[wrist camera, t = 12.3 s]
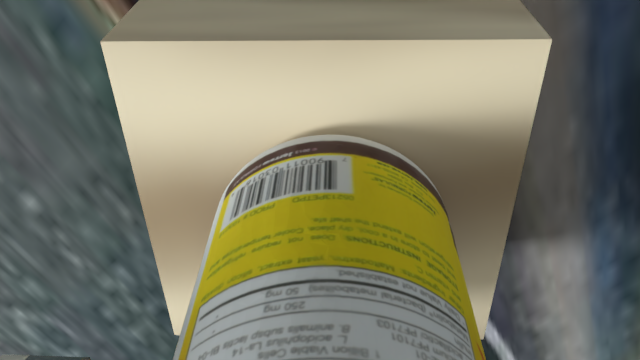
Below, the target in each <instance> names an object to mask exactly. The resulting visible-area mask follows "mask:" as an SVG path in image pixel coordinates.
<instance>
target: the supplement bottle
mask: <svg viewBox="0 0 640 360" xmlns="http://www.w3.org/2000/svg"><path fill="white" fill-rule="evenodd" d="M173 360H486V359H485V355H484V351H483V347H482V344H481V340H480V336H479V332H478V328H477V324H476V320H475V317H474V313H473V309H472V305H471V301H470V297H469V294H468V290H467V286H466V282H465V278H464V275H463V271H462V267H461V263H460V260H459V256H458V252H457V248H456V244H455V239H454V235H453V232H452V229H451V225H450V221H449V217H448V214H447V211H446V209H445V206H444V203H443V201H442V198H441V196H440V194H439V193H438V191H437V189H436V187H435V186H434V184H433V183H432V182H431V180H430V179H429V178H428V177H427V175H426V174H425V173H424V172H423V171H422V170H421V169H420V168H419V167H418V166H417V165H416V164H414V163H413V162H412V161H411V160H409V159H408V158H406V157H405V156H404V155H402V154H400V153H399V152H397V151H395V150H393V149H391V148H389V147H387V146H385V145H382V144H380V143H377V142H374V141H371V140H367V139H363V138H360V137H354V136H347V135H330V134H327V135H314V136H307V137H301V138H297V139H293V140H290V141H287V142H284V143H281V144H279V145H276V146H274V147H272V148H270V149H268V150H266V151H264V152H263V153H261V154H259V155H258V156H256V157H255V158H254V159H252V160H251V161H250V162H248V163H247V164H246V165H245V166H244V167H243V168H242V169H241V170H240V171H239V172H238V173H237V174H236V175H235V177H234V178H233V179H232V180H231V182H230V183H229V185H228V186H227V188H226V189H225V191H224V193H223V195H222V197H221V200H220V202H219V205H218V208H217V211H216V214H215V217H214V221H213V224H212V227H211V231H210V234H209V238H208V241H207V244H206V248H205V251H204V255H203V258H202V262H201V265H200V269H199V272H198V276H197V279H196V283H195V286H194V289H193V292H192V296H191V299H190V302H189V306H188V309H187V313H186V316H185V319H184V323H183V326H182V330H181V333H180V337H179V340H178V344H177V347H176V350H175V354H174V357H173Z"/></svg>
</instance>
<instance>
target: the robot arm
mask: <svg viewBox="0 0 640 360" xmlns="http://www.w3.org/2000/svg"><path fill="white" fill-rule="evenodd" d="M0 360H91V359H90V357H62V356H33V355H1V356H0Z"/></svg>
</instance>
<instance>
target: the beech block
mask: <svg viewBox="0 0 640 360" xmlns="http://www.w3.org/2000/svg"><path fill="white" fill-rule="evenodd" d="M100 42H101V46H102V50H103V54H104V58H105V62H106V66H107V70H108V74H109V78H110V81H111V85H112V89H113V93H114V97H115V101H116V105H117V109H118V113H119V117H120V121H121V125H122V129H123V133H124V137H125V141H126V145H127V149H128V153H129V157H130V161H131V164H132V168H133V172H134V176H135V180H136V184H137V188H138V192H139V196H140V200H141V204H142V208H143V212H144V216H145V220H146V224H147V228H148V232H149V236H150V240H151V244H152V247H153V251H154V255H155V259H156V263H157V267H158V271H159V275H160V279H161V283H162V287H163V291H164V295H165V299H166V303H167V307H168V311H169V315H170V319H171V323H172V327H173V330H174V334H175V335H180V333H181V330H182V326H183V323H184V319H185V316H186V313H187V309H188V306H189V302H190V299H191V296H192V292H193V289H194V286H195V283H196V279H197V276H198V272H199V269H200V265H201V262H202V258H203V255H204V251H205V248H206V244H207V241H208V238H209V234H210V231H211V227H212V224H213V221H214V217H215V214H216V211H217V208H218V205H219V202H220V200H221V197H222V195H223V193H224V191H225V189H226V188H227V186H228V185H229V183H230V182H231V180H232V179H233V178H234V177H235V175H236V174H237V173H238V172H239V171H240V170H241V169H242V168H243V167H244V166H245V165H246V164H247V163H248V162H250V161H251V160H252V159H254V158H255V157H256V156H258V155H259V154H261V153H263V152H264V151H266V150H268V149H270V148H272V147H274V146H276V145H279V144H281V143H284V142H287V141H290V140H293V139H297V138H301V137H307V136H314V135H327V134H330V135H347V136H354V137H360V138H363V139H367V140H371V141H374V142H377V143H380V144H382V145H385V146H387V147H389V148H391V149H393V150H395V151H397V152H399V153H400V154H402V155H404V156H405V157H406V158H408V159H409V160H411V161H412V162H413V163H414V164H416V165H417V166H418V167H419V168H420V169H421V170H422V171H423V172H424V173H425V174H426V175H427V177H428V178H429V179H430V180H431V182H432V183H433V184H434V186H435V187H436V189H437V191H438V193H439V194H440V196H441V198H442V201H443V203H444V206H445V209H446V211H447V214H448V217H449V221H450V225H451V229H452V232H453V235H454V239H455V244H456V248H457V252H458V256H459V260H460V263H461V267H462V271H463V275H464V278H465V282H466V286H467V290H468V294H469V297H470V301H471V305H472V309H473V313H474V317H475V320H476V324H477V328H478V332H479V336H480V339H483V338H484V334H485V330H486V325H487V321H488V317H489V312H490V308H491V304H492V299H493V295H494V291H495V286H496V282H497V278H498V273H499V269H500V265H501V260H502V256H503V252H504V247H505V243H506V238H507V234H508V230H509V225H510V221H511V217H512V212H513V208H514V204H515V199H516V195H517V191H518V186H519V182H520V178H521V173H522V169H523V165H524V160H525V156H526V152H527V147H528V143H529V138H530V134H531V130H532V125H533V121H534V117H535V112H536V108H537V104H538V99H539V95H540V91H541V86H542V82H543V78H544V73H545V69H546V65H547V60H548V56H549V52H550V47H551V43H552V38H551V37H550V36H549V35H548V33H547V32H546V31H545V30H544V29H543V27H542V26H541V25H540V24H539V23H538V21H537V20H536V19H535V18H534V17H533V15H532V14H531V13H530V12H529V11H528V9H527V8H526V7H525V6H524V5H523V3H522V2H521V1H520V0H139V1H138V2H137V3H136V4H135V5H134V6H133V7H132V8H131V10H130V11H129V12H128V13H127V14H126V15H125V16H124V17H123V18H122V19H121V20H120V21H119V22H118V23H117V24H116V25H115V27H114V28H113V29H112V30H111V31H110V32H109V33H108V34H107V35H106V36H105V37H104V38H103V39H102V40H101V41H100Z"/></svg>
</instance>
